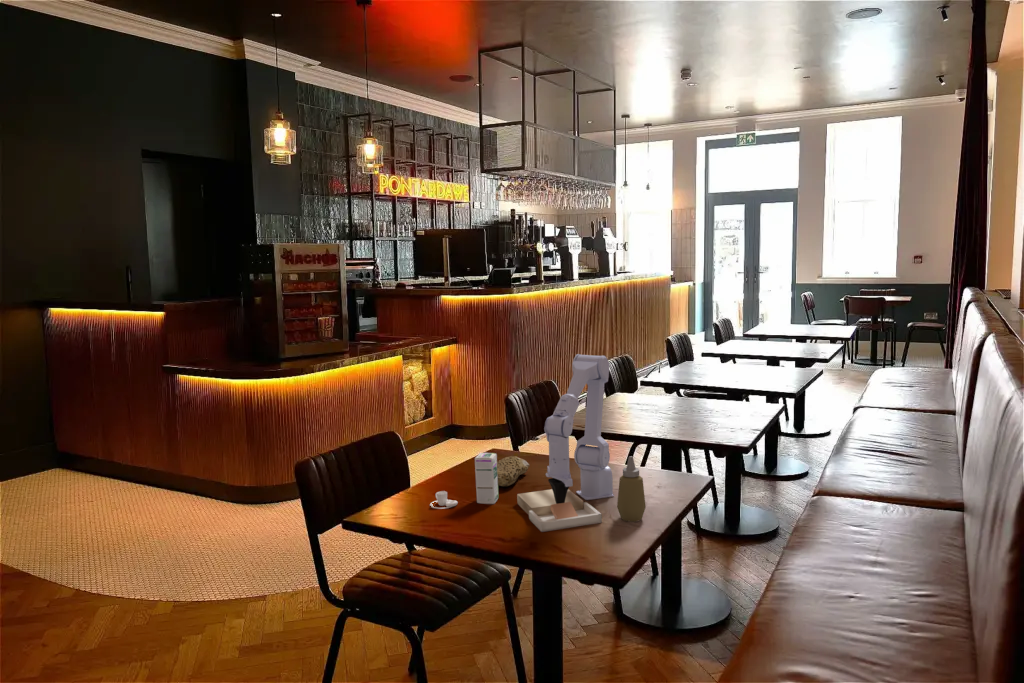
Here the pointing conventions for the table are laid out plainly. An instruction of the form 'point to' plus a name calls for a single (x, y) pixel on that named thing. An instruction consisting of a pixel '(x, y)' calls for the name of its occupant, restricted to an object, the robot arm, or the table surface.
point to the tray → (566, 519)
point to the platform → (545, 501)
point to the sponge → (510, 470)
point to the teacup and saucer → (443, 500)
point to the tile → (563, 510)
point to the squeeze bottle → (631, 493)
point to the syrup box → (486, 478)
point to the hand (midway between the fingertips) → (560, 503)
